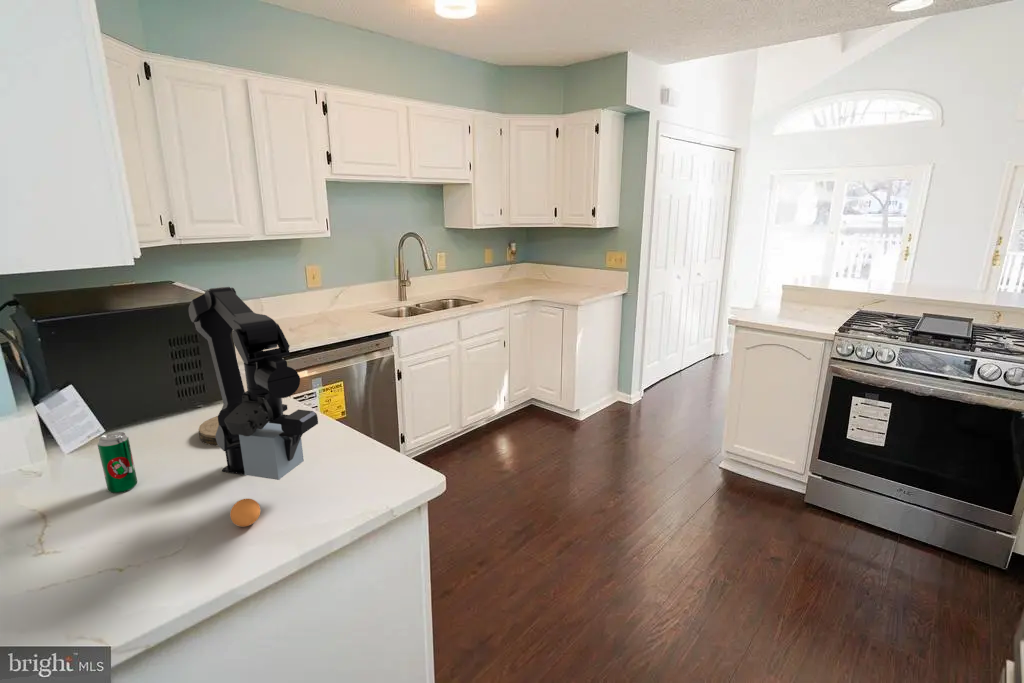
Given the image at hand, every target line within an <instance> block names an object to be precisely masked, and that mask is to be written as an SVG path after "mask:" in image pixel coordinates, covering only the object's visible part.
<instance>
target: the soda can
mask: <svg viewBox="0 0 1024 683" xmlns="http://www.w3.org/2000/svg"><path fill="white" fill-rule="evenodd" d="M130 443H131V442H130V439H129V436H127V435H126V433H125V432H123V431H115V432H110V433H106V434H103V435H102V436H100V437H99V438H98V442H97V448H98V454H99V458H100V462H101V466H102V471H103V475H104V479H105V485H106V487H107V491H108V492H110V493H112V494H121V493H125V492H129V491H131V490H132V489H134V488H135V487H136V486H137V484H138V478H137V472H136V468H135V464H134V463H135V462H134V458H133V453H132V450H131V449H132V448H131V444H130Z"/></svg>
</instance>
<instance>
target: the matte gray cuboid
mask: <svg viewBox="0 0 1024 683" xmlns="http://www.w3.org/2000/svg"><path fill="white" fill-rule="evenodd" d="M282 432H283V431H282V428H281V424H274V423H267V424H266V425H265V426H264V427H263V429H256V431H255V433H254V434H252V435H251V436H243V435H239V439H240V445H241V452H242V459H243V465H244V472H245V475H244V476H249V477H258V478H264V479H267V480H268V479H269V480H274V481H275V480H277V481H280V480H281V479H282V478H284V477H285V476H286V475H287V474H289V473H290V472H291V471H293V470H294V469H296V467H298V466H299V465H301V464H302V463H303V462H304V452H303V442H302V438H301V439H300V441H299V444H298V446H297V449H296V452H295V454H294V457H293V459H292V460H291V461H288V459H287V456H286V450H285V442H284V439H283V438H282V437H281V436H279V434H281V433H282Z"/></svg>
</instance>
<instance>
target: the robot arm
mask: <svg viewBox="0 0 1024 683" xmlns="http://www.w3.org/2000/svg"><path fill="white" fill-rule="evenodd" d="M188 316H189V319H190V321H191V323H194V327H195V331H197V333H199V334H200V335H201V336H202V337H203V338H204V339H205V340H206V341H207V343H208V347H209V352H210V355H211V360H212V363H213V367H214V370H215V375H216V379H217V383H218V388H219V392H220V395H221V399H222V403H223V404H222V407H221V409H220V411H219V413H218V414H217V416H218V423H219V426H218V429H217V432H216V435H215V437H216V441H217V445H218V447H219V448H220V449H221V450H222V451H223V452H225V453H224V454H225V458H226V463H227V465H226V466H224V467H222V470H221V471H222V472H225V473H230V474H238V475H244V476H246V475H245V472H244V465H243V459H242V452H241V445H240V439H239V435H243V436H251V435H252V434H254V433H255V431H256V429H263V427H264V426H265V425H266V424H267V423H274V424H281V428H282V431H283V432H282V433H281V434H279V436H281V437H282V438H283V439H284V442H285V450H286V456H287V459H288V461H291V460H292V459H293V457H294V454H295V452H296V449H297V446H298V444H299V441H300V439H301V440H302V436H303V434H305V433H306V432H308V431H309V430H311V429H312V428H314V427H315V426H317V425H318V424H319V418H318V417H319V416H318V414H317V413H316V411H313V410H308V409H307V410H306V409H297V410H295V411H294V412H291V413H290V414H285V413H284V412H286V411H287V410H288V404H283V399H285V398H288V397H292V395H294V394H295V393H296V392H297V391H298V389H299V387H300V385H301V384H300V383H301V376H300V375H299V373H298V372H297V370H296V369H294V368H293V367H291V366H288V362H287V361H288V360H286V359H285V357H289V356H291V352H290V347H291V346H290V344H289V342H288V340H287V338H286V336H285V334H284V332H283V330H282V328H281V327H280V325H279V323H277V322H276V321H275V320H274V319H273V318H272V317H270V316H268V315H266V314H261V313H256V312H254V310H252V308H250V306H248V305H247V304H246V303H245V301H243V300H242V299H241V298H240V297H239V296H238V295H237V291H236V289H235V288H234V287H230V286H223V287H221V286H220V287H213V288H212V287H211V288H209V289H206V290H205V292H204V293H203V294H201V295H199V296H198V297H195V298H193V299H191V302H190V304H189V306H188ZM277 347H278V348H277ZM235 349H236V350H235ZM236 351H237V352H238V354H239V356H240V358H241V360H242V361H243V368H244V374H245V375H244V376H245V380H246V389H247V391H245V387H244V383H243V379H242V375H241V371H240V368H239V363H238V358H237V355H236Z"/></svg>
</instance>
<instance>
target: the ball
mask: <svg viewBox="0 0 1024 683" xmlns="http://www.w3.org/2000/svg"><path fill="white" fill-rule="evenodd" d="M229 514H230V515H229V516H230V517H229V518H230V519H231V522H232V524H234V525H235V526H238V527H243V528H244V527H249V526H251V525H252V524H254V523H255V522H257V520H258V519H259V517H260V514H261V507H260V504H259V502H258V501H256V500H255V499H253V498H243V499H240V500H238V501H237V502H236V503H235V504H233V505H232V508H231V509H230V513H229Z"/></svg>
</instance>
